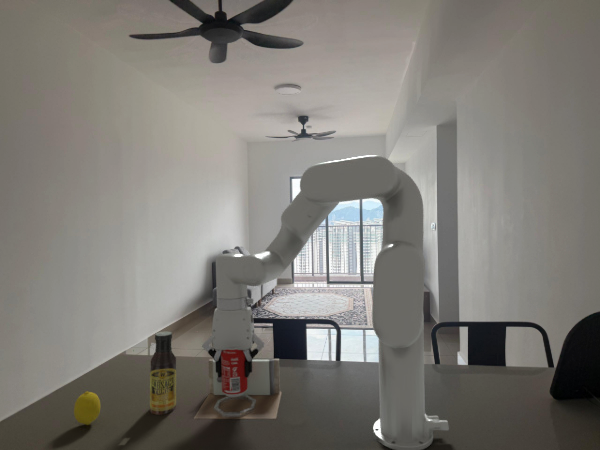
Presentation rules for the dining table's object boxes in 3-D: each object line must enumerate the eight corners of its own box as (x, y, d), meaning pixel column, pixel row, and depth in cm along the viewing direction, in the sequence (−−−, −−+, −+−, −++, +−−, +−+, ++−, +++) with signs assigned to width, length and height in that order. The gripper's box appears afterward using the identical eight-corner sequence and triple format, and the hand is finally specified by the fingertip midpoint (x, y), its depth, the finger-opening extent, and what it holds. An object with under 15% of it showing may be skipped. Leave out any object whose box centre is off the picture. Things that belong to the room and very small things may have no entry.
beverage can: (250, 387, 100) (249, 341, 100) (244, 399, 94) (243, 349, 94) (226, 387, 101) (224, 340, 100) (218, 398, 94) (217, 349, 94)
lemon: (95, 416, 97) (93, 384, 96) (105, 423, 93) (103, 390, 93) (70, 426, 92) (69, 392, 92) (80, 434, 89) (79, 399, 89)
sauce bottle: (148, 420, 94) (145, 338, 93) (151, 408, 100) (148, 331, 99) (177, 416, 96) (174, 335, 95) (178, 404, 102) (175, 328, 101)
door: (274, 392, 104) (274, 359, 104) (273, 397, 102) (272, 362, 101) (215, 393, 105) (213, 359, 105) (212, 397, 102) (211, 363, 102)
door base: (281, 395, 105) (280, 358, 105) (276, 422, 91) (274, 380, 91) (210, 395, 106) (209, 359, 106) (193, 422, 92) (192, 380, 92)
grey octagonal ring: (258, 397, 102) (257, 394, 102) (251, 417, 92) (251, 413, 92) (221, 398, 102) (220, 395, 102) (210, 417, 93) (210, 413, 93)
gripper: (268, 299, 100) (270, 369, 100) (202, 300, 101) (204, 369, 101) (264, 306, 93) (266, 381, 93) (193, 307, 93) (195, 381, 94)
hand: (234, 374), depth 97 cm, fingers closed on beverage can, 6 cm apart
